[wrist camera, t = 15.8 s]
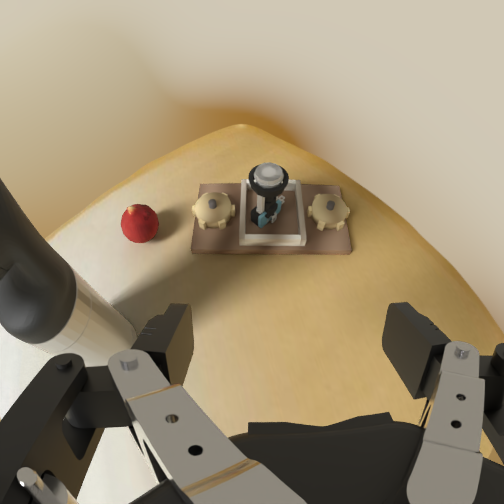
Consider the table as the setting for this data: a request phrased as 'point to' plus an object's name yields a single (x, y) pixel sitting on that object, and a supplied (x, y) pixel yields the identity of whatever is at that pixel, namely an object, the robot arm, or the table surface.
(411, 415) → the table surface
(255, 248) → the gear board
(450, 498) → the robot arm
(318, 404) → the table surface
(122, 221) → the onion
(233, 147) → the table surface
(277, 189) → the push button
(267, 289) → the table surface
